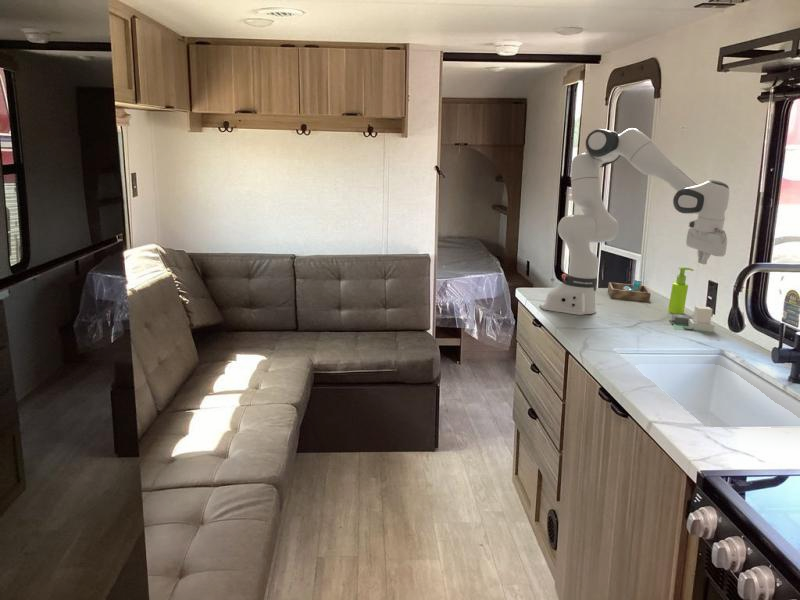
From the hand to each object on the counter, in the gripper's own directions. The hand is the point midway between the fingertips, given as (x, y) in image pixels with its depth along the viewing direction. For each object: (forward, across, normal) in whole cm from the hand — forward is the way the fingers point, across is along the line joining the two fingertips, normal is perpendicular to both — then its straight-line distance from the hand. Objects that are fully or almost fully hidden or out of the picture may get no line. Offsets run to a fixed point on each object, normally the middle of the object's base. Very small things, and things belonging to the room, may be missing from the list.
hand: (701, 263), depth 237 cm
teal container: (+28, +56, -4) cm, 63 cm away
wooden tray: (+28, +55, -2) cm, 62 cm away
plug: (+24, -2, -3) cm, 25 cm away
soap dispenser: (+27, +22, -8) cm, 35 cm away
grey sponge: (+25, +4, +1) cm, 25 cm away
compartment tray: (+26, 0, -1) cm, 26 cm away
